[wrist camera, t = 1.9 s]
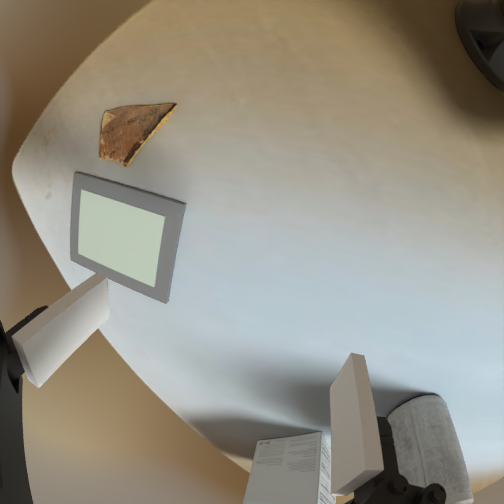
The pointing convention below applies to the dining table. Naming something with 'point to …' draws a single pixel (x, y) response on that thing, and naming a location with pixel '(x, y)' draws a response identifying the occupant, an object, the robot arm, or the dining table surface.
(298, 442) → the supplement box
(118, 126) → the shard
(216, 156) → the dining table surface
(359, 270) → the dining table surface
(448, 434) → the grey stoneware bottle
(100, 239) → the mat
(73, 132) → the dining table surface
